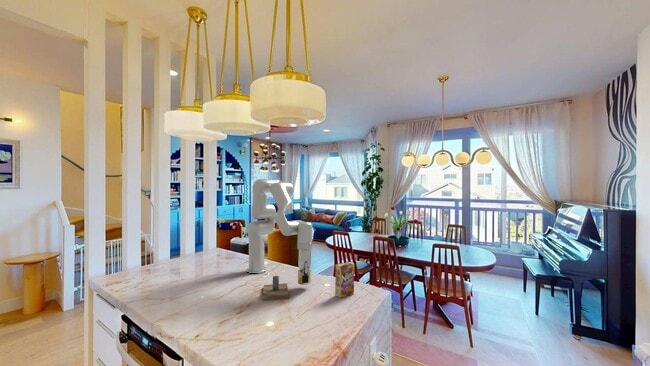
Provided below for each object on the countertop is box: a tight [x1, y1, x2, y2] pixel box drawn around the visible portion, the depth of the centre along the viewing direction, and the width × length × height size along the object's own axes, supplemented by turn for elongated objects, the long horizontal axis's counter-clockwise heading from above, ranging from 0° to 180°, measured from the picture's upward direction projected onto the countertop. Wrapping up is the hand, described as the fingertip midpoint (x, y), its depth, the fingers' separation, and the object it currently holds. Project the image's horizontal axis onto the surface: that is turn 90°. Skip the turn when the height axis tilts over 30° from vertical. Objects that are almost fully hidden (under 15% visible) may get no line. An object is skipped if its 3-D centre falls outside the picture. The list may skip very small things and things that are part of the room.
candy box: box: [334, 261, 355, 299], centre depth 127 cm, size 9×4×15 cm, turn 123°
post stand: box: [262, 275, 290, 301], centre depth 130 cm, size 16×12×8 cm
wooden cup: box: [297, 268, 312, 286], centre depth 135 cm, size 7×7×6 cm
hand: (304, 279), depth 135 cm, fingers closed on wooden cup, 6 cm apart
